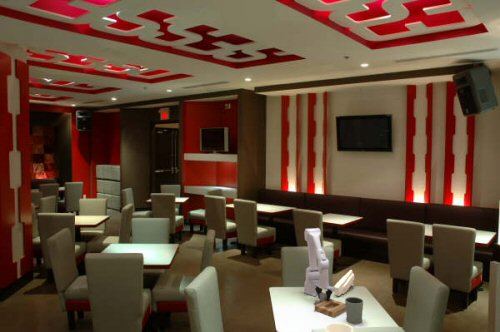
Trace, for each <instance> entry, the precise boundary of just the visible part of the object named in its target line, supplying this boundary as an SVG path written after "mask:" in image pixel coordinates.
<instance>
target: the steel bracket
mask: <svg viewBox="0 0 500 332" xmlns="http://www.w3.org/2000/svg"><path fill="white" fill-rule="evenodd" d="M318 300H319V301H317V302H314V306H315V305H317V304H319V303H321V302H324V301H326V300H327V298H326V292H323V291H322V292H321V293H320V294H319V298H318Z"/></svg>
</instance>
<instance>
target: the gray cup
mask: <svg viewBox="0 0 500 332" xmlns="http://www.w3.org/2000/svg"><path fill="white" fill-rule="evenodd" d="M344 302H345V304H346V311H345V313H346V315H345V316H346V321H347V322H348V323H349V324H355V325H357V324H361V323H362V322H363V310H364V299H362V298H360V297H356V296H348V297H346V298H345V300H344Z"/></svg>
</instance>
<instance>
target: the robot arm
mask: <svg viewBox="0 0 500 332" xmlns="http://www.w3.org/2000/svg"><path fill="white" fill-rule="evenodd" d="M303 234H304V241H306V243H307V251H308V252H307V253H308V264H309V266H308V267H307V268H306V269H305V281H304V286H303V288H304V290H303V293H304V294H307V295H309V296H312V297H316V296H317V299H319V294H320V293H321V292H323V290H325V292H324V293H326V298H327V301H329V300H330V299H331V296H332V294H333V293H334V286H333V287H332V286H331V285H329V270H330V268H331V263H330V260H329V259H328V258H327V255H326V252H325V249H323V248H322V243H321V237H322V236H321V235H322V232H321V229H320V228H319V227H316V228H313V227H312V228H305V229H304V232H303Z"/></svg>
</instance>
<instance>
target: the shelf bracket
mask: <svg viewBox="0 0 500 332" xmlns="http://www.w3.org/2000/svg"><path fill="white" fill-rule="evenodd" d="M354 280H355V273H353V270H352V269H350V270H349V271H347V273H345V275H343V276H342V277H341V278H340V279H339V281H337V282H336V284H335V285H334V286H333V288H334V291H333V293H334V295H335V296H337V297H340V296H341V295H342V294H343V295H345V294H346V293H347V291H348V290H349V289H350V287H354ZM345 292H346V293H345ZM344 293H345V294H344Z"/></svg>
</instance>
